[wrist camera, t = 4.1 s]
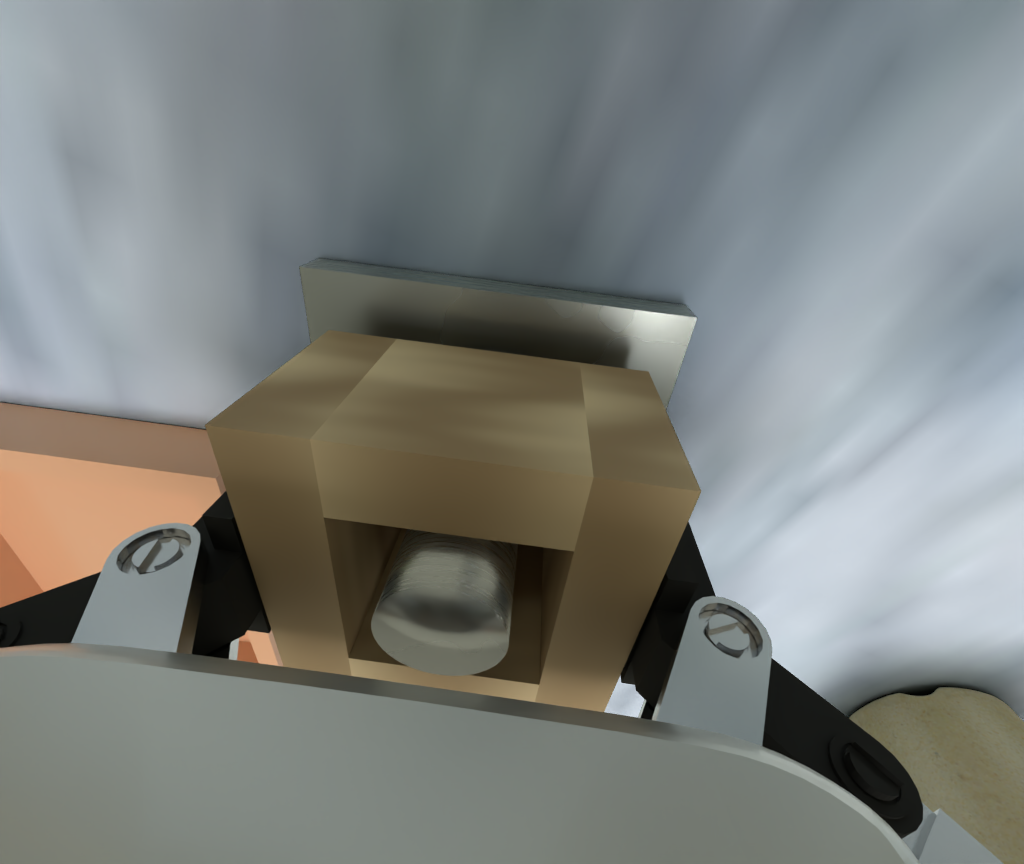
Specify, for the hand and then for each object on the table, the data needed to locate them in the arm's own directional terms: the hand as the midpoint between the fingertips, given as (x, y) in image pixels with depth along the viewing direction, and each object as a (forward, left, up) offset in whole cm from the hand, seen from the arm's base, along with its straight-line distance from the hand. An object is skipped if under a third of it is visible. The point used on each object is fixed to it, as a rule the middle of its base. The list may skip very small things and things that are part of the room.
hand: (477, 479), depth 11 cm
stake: (0, 0, -2) cm, 2 cm away
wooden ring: (0, 0, 0) cm, 0 cm away
